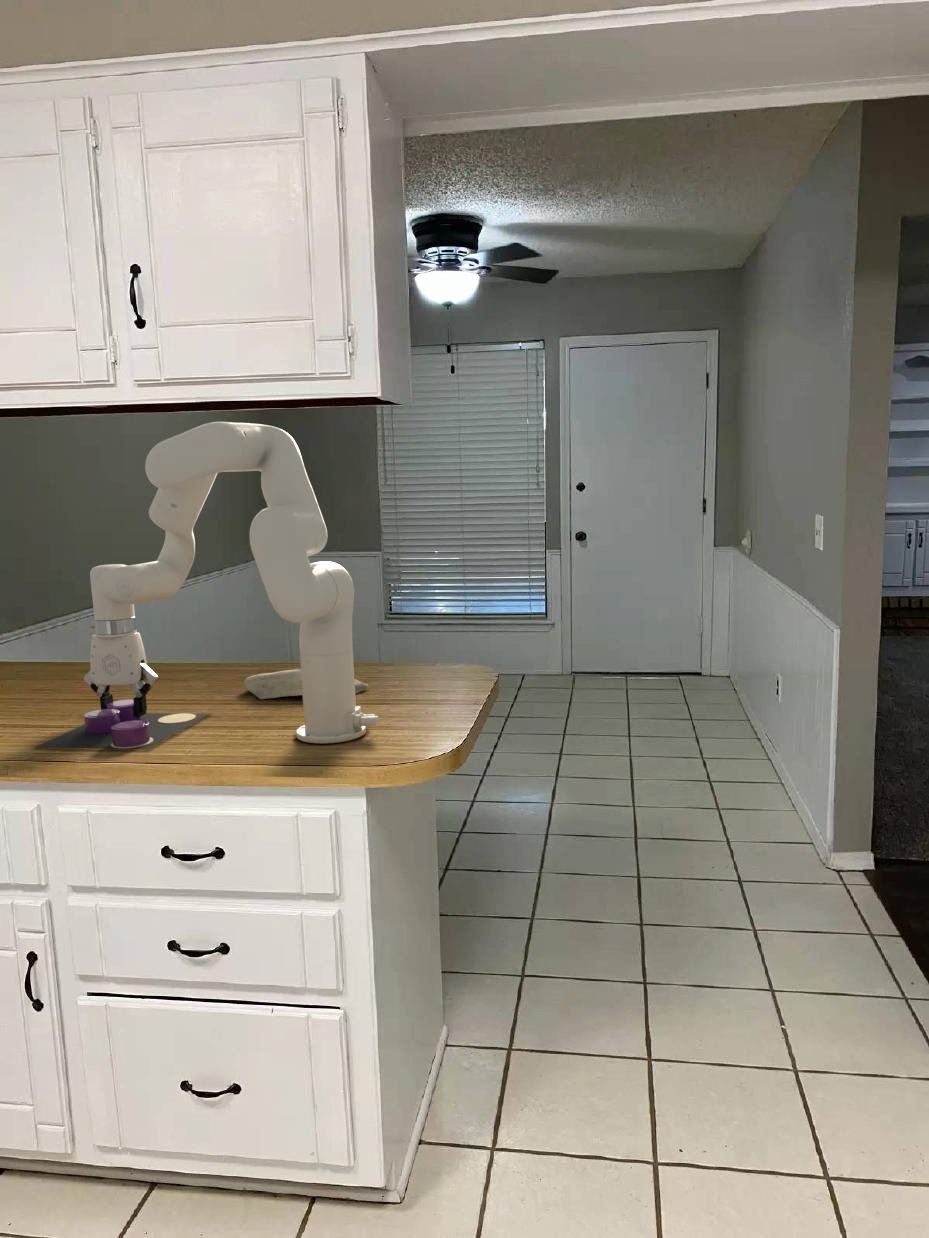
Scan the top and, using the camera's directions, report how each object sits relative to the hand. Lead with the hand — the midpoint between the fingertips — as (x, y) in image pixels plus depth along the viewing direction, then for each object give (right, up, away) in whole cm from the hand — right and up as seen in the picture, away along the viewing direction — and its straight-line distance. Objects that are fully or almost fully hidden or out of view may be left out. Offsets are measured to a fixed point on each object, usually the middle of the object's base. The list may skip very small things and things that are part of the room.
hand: (124, 714), depth 180 cm
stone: (+32, +3, +19) cm, 37 cm away
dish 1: (-1, -2, -7) cm, 8 cm away
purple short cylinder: (+8, -3, -17) cm, 19 cm away
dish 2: (0, -1, 0) cm, 1 cm away
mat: (+4, -2, -8) cm, 9 cm away
